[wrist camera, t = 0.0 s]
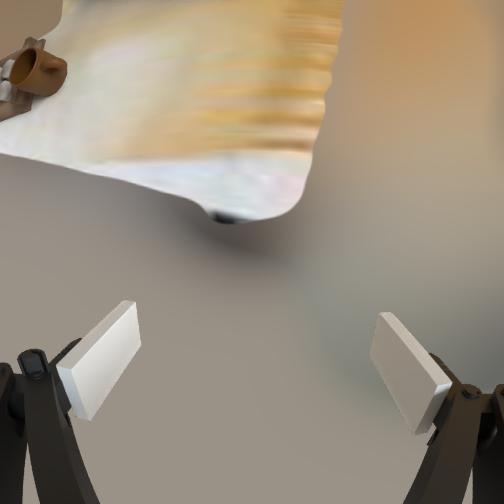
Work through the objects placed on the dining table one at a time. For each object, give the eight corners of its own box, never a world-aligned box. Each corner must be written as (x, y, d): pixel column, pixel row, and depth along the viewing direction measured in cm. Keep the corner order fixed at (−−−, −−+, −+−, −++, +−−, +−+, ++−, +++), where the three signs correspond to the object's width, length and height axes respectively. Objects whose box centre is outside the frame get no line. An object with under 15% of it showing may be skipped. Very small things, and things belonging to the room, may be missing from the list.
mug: (92, 55, 35) (63, 37, 26) (79, 94, 37) (47, 82, 28) (46, 62, 35) (16, 50, 26) (35, 98, 37) (3, 90, 28)
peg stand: (-7, 66, 34) (-20, 63, 29) (45, 40, 34) (31, 32, 29) (-19, 129, 38) (-33, 128, 33) (30, 110, 37) (14, 106, 32)
